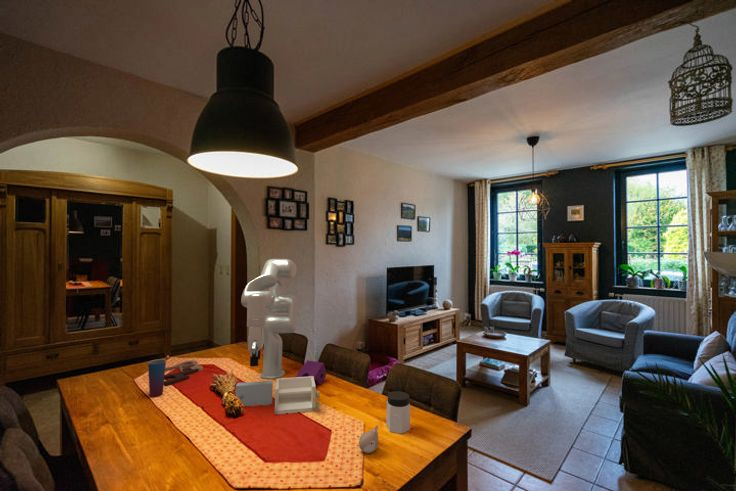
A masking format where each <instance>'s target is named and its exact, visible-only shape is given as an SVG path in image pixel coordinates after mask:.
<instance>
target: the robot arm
mask: <svg viewBox="0 0 736 491" xmlns="http://www.w3.org/2000/svg"><path fill="white" fill-rule="evenodd" d="M263 265H264V266H263V268H262V271H261V273H260V275H259V276H258V277H255V278H254V279H253V280H251V281H249V282H248V283H247V284H246V285H245V288H244V289H243V291H242V295H241V299H240V302H241V306H243V307H244V308H247V311H246V314H247V315H246V317H247V318H246V327H248V328H249V329H248V336H247V338H248V339H247V351H249V352H250V360H249V367H258V366H259V360H260V359H261V348H262V340H263V364H262V365H263V368H262V370H263V371H261V372H260V373H259V376H260V378H262V379H265V380H266V379H267V380H271V379H272V380H273V379H274V380H276V379H279V378H283V376H285V373H286V371H285V370H284V369H283V339H282V337H281V336H280V334H293V333H294V332H296V330H297V329H296V328H297V318H298V305H299V304H298V299H297V297H296V296H295V295H291V294H286V295H285V291H286V286H285V284H284V282H283V281H282V280H281V279H293V278H295V277H296V275H297V271H298V270H297V269H298V268H297V265H296V263H295V262H294V261H293V260H291V259H288V258H270V259H268V260H266V261H265V263H264V264H263ZM266 309H267V310H266ZM267 311H268V312H270V313H273V314H269V315H267V314H266V313H267ZM274 313H276V314H274ZM278 313H279V314H278ZM281 313H282V314H281Z"/></svg>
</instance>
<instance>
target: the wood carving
mask: <svg viewBox="0 0 736 491" xmlns="http://www.w3.org/2000/svg"><path fill="white" fill-rule="evenodd" d="M178 367H179V368H178ZM189 367H190V368H189ZM176 368H177V369H178V370H180V371H179V372H174V373H173V372H172V373H169V374H165V376H164V386H165V387H169V386H173V385H175V384H177V383H181V382H184V381H187V380H190V375H194V374H196V373H198V372H201V371H203V370H204V369H203V368H204V367H203V366H202V365H199V363H198V361H197V360H192V359H191V360H186V361H183V362H180V363H179V362H178V363H177V364H175V365H171V366H167V367H166V366H165V372H168V370H169V371H174V370H177V369H176ZM183 368H184V369H183ZM173 369H174V370H173Z"/></svg>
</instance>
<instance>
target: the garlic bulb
mask: <svg viewBox="0 0 736 491" xmlns="http://www.w3.org/2000/svg"><path fill="white" fill-rule="evenodd" d="M377 430H379V425H378V424H376V425H375V426H374V428H372V429H371V430H368V431H367V432H364V433H362V434H361V435H360V436H359V439H358V446H359V450H361V451H362V452H363V453H366V454H370V453H373V452H375V451H376V449H377V448H378V447H379V433H378V431H377Z"/></svg>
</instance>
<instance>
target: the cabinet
mask: <svg viewBox="0 0 736 491" xmlns="http://www.w3.org/2000/svg"><path fill="white" fill-rule="evenodd" d="M320 395H321V391H320V390H317V388H316V384H315V381H314V376H309V377H284V378H283V377H279V378H275V389H274V415H276V414H277V415H286V413H288V414H297V413H298V412H300V413H308V412H307V411H311V412H317V410H320V407H321V406H320V404H321V403H320V402H319V401H317V399H320Z"/></svg>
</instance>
